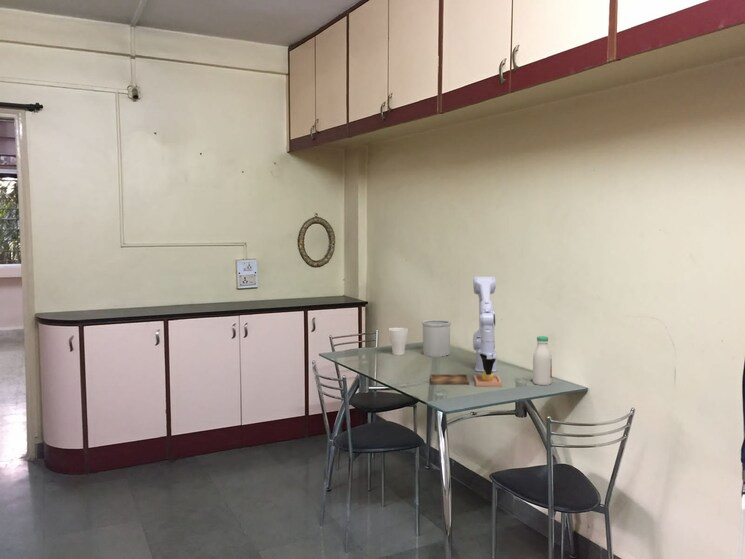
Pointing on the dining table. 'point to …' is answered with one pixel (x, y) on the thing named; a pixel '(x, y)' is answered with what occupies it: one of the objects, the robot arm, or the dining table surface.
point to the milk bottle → (542, 362)
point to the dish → (481, 383)
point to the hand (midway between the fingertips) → (487, 372)
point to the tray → (449, 379)
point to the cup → (398, 339)
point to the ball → (487, 377)
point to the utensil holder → (436, 337)
